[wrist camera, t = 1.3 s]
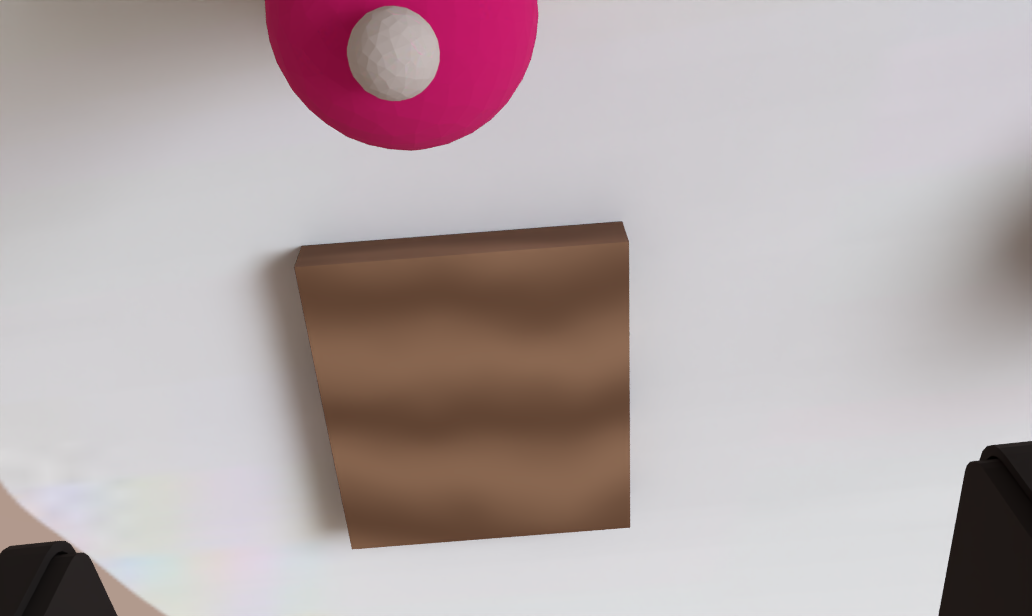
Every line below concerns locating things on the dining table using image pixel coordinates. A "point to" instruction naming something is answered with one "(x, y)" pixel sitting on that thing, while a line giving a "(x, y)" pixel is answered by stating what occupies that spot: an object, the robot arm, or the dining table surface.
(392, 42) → the pepper mill
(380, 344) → the walnut board
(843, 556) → the dining table surface
